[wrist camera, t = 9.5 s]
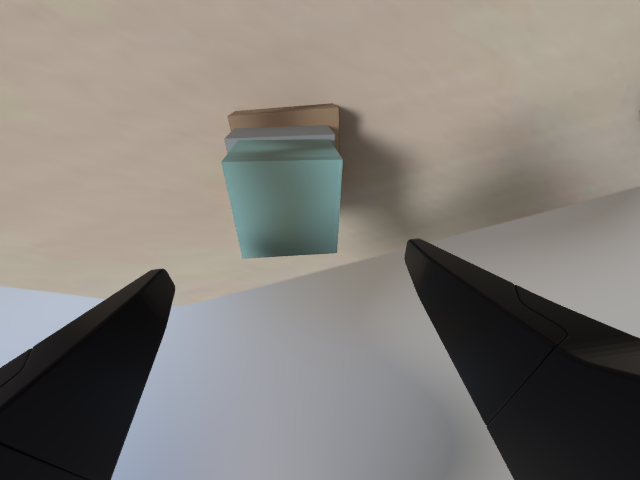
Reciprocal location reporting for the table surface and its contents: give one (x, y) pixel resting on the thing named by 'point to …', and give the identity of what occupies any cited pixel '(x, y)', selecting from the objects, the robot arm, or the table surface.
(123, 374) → the robot arm
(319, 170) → the teal block
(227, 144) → the grey middle block
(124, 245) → the table surface
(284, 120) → the walnut base block
